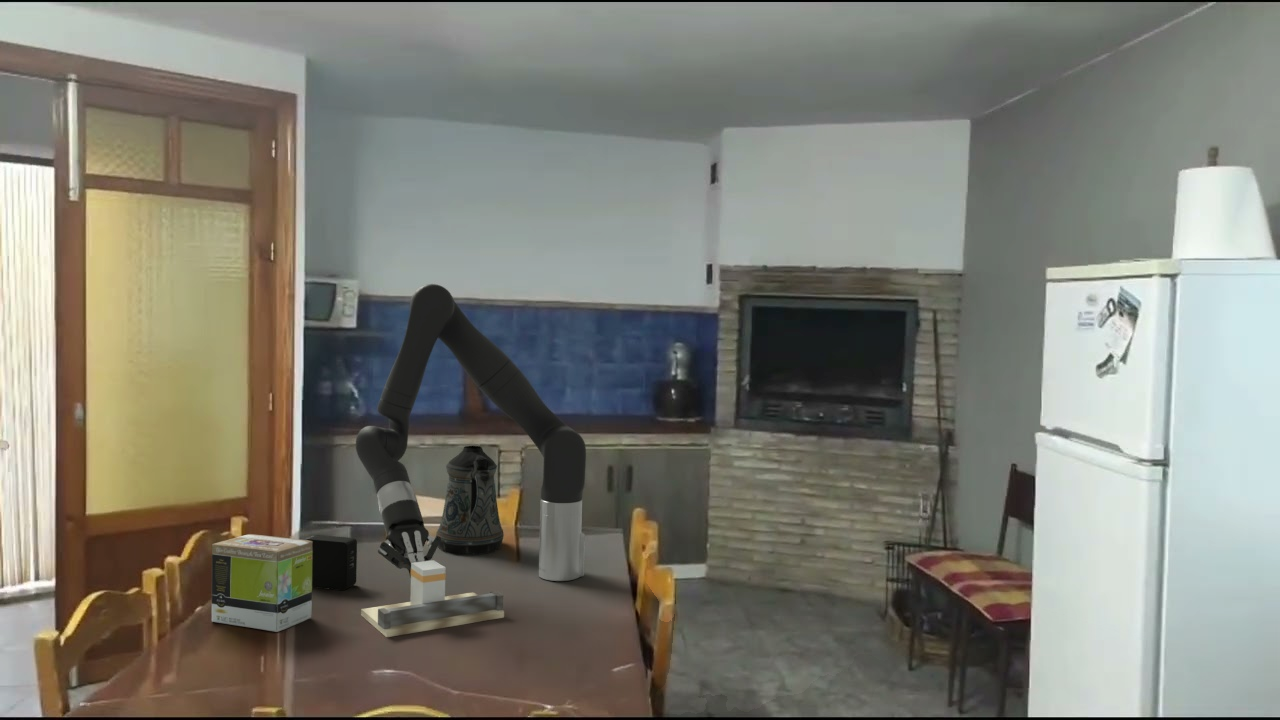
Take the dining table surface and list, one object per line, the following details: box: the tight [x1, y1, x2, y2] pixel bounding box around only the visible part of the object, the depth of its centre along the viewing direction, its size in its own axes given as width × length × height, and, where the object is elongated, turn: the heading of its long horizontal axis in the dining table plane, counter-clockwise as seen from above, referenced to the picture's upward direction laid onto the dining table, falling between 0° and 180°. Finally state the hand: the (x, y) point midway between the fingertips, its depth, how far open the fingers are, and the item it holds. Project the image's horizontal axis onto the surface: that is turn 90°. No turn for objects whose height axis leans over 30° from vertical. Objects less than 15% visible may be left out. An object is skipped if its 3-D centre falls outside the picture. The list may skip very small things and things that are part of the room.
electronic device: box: [305, 534, 358, 591], centre depth 196 cm, size 4×10×10 cm, turn 79°
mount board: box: [360, 590, 505, 638], centre depth 178 cm, size 23×14×4 cm, turn 125°
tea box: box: [211, 533, 313, 633], centre depth 173 cm, size 15×10×15 cm, turn 71°
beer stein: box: [435, 445, 505, 556], centre depth 231 cm, size 16×19×25 cm
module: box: [409, 559, 447, 605], centre depth 177 cm, size 4×6×9 cm
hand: (421, 583), depth 181 cm, fingers closed
